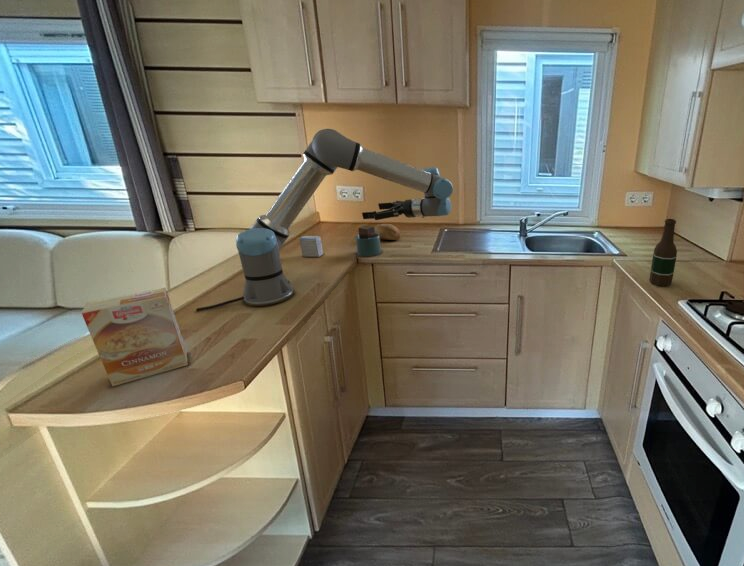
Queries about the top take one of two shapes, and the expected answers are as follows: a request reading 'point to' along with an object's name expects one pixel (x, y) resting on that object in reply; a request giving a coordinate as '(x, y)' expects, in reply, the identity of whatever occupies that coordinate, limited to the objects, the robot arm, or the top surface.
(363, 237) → the block
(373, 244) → the teal blue cylinder
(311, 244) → the medicine box
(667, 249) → the beer bottle
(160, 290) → the coffeecake box
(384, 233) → the bread roll
